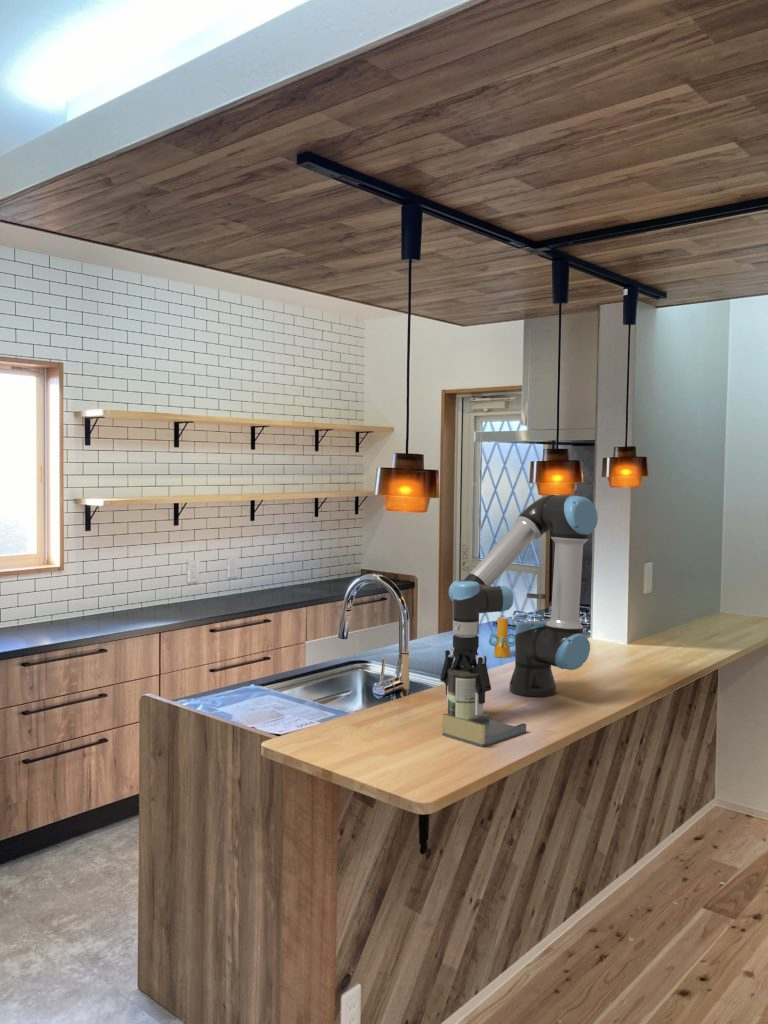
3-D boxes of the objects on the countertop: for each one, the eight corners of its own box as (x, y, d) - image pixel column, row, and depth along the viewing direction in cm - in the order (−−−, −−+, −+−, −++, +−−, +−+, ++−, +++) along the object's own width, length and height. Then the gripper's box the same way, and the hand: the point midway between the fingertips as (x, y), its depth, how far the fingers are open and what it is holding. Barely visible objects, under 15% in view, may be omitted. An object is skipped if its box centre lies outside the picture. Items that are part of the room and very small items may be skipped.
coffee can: (440, 718, 249) (440, 670, 248) (460, 711, 257) (460, 664, 256) (469, 725, 242) (470, 676, 242) (489, 717, 250) (490, 670, 250)
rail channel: (486, 721, 246) (486, 701, 246) (526, 732, 236) (526, 711, 236) (442, 735, 233) (442, 714, 233) (482, 747, 223) (482, 725, 223)
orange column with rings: (515, 660, 328) (516, 621, 327) (488, 659, 329) (488, 620, 329) (515, 653, 340) (516, 616, 339) (489, 652, 341) (489, 615, 341)
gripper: (428, 631, 254) (427, 705, 255) (488, 642, 238) (486, 721, 239) (445, 628, 259) (444, 700, 260) (504, 638, 243) (503, 716, 244)
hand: (464, 710), depth 250 cm, fingers closed on coffee can, 10 cm apart
